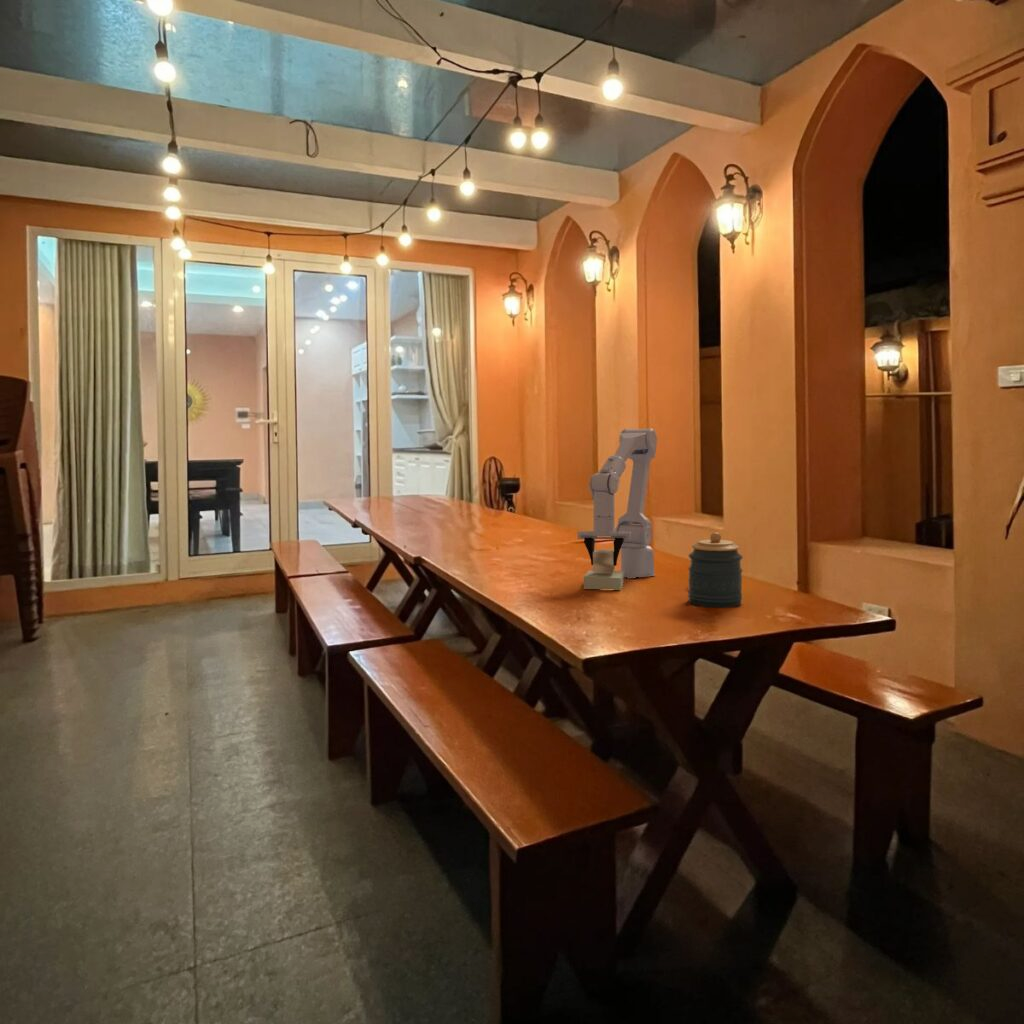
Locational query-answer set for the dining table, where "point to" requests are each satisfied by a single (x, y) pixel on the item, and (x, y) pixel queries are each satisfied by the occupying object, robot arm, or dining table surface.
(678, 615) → the dining table surface
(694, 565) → the canister
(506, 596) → the dining table surface
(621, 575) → the sage pedestal
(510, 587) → the dining table surface
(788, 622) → the dining table surface
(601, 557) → the cream cube
